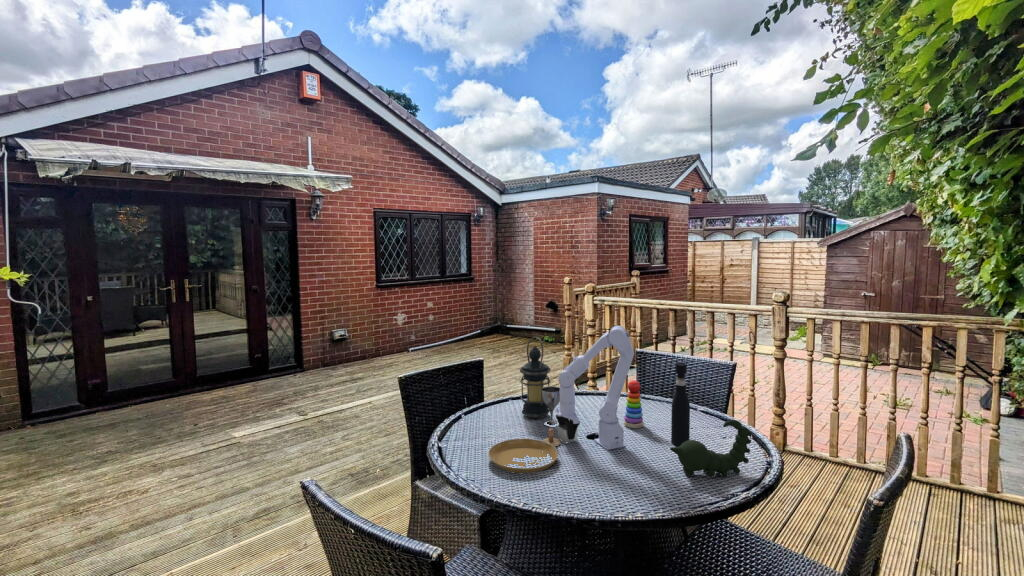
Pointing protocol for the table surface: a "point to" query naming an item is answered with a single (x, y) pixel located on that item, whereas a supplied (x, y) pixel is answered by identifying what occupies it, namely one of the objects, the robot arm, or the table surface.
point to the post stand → (552, 439)
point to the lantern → (534, 383)
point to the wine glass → (551, 400)
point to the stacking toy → (633, 407)
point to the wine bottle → (680, 409)
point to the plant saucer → (521, 454)
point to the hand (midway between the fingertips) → (567, 436)
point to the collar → (565, 434)
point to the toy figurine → (714, 454)
